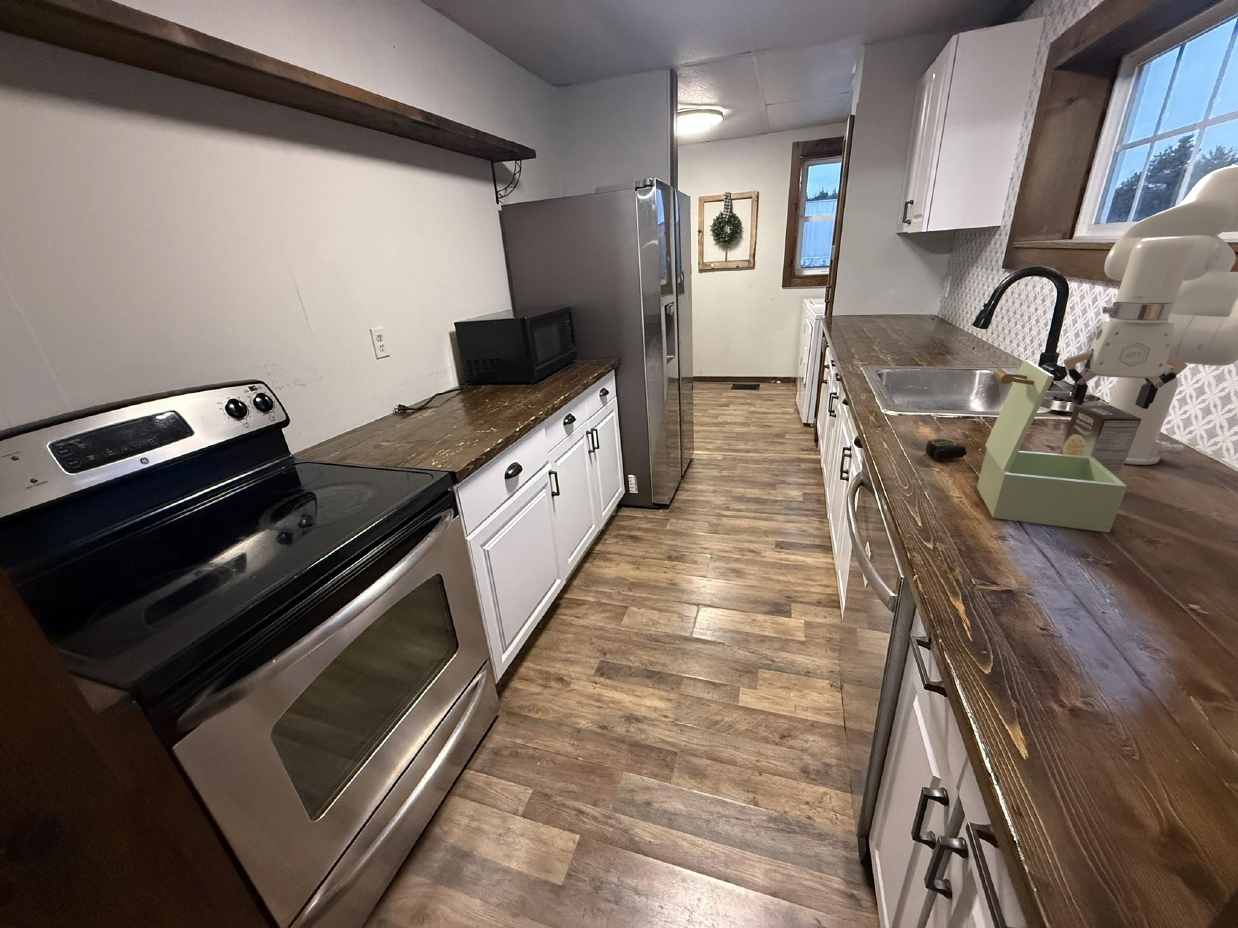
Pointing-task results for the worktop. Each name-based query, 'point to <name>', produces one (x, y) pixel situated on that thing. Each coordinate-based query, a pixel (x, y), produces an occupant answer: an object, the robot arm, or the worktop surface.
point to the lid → (1017, 411)
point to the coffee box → (1101, 435)
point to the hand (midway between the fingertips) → (1108, 405)
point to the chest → (1052, 490)
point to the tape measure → (944, 449)
